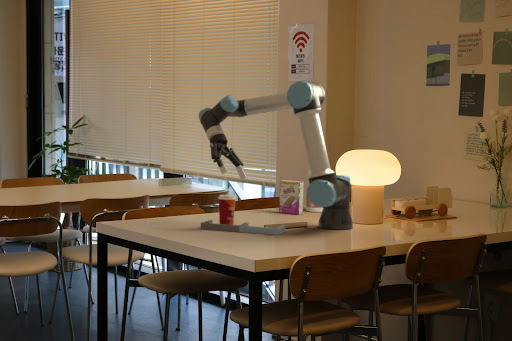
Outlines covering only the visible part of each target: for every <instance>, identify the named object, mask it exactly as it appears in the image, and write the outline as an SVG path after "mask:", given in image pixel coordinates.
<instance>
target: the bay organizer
mask: <svg viewBox="0 0 512 341" xmlns="http://www.w3.org/2000/svg"><path fill="white" fill-rule="evenodd" d="M200 230H212V231H223V232H224V231H225V232H233V233H235V232H237V233H238V232H239V233H249V234H262V235H274V236H279V235H280V234H283V233H285V232H286V225H285V224H283V225H281V226H280V225H279V226H277V227H267V226H265V227H264V226H263V227H262V226H253V225H252V226H250V225H249V222H244V223H241V224H238V225H237V224H233V225H226V224H220V223H213V219H209V220H205V221H203V222H200Z"/></svg>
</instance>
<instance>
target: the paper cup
mask: <svg viewBox="0 0 512 341" xmlns="http://www.w3.org/2000/svg"><path fill="white" fill-rule="evenodd" d="M217 199H218V214H219V224H226V225H234V221H235V208H236V200H237V198H236V195H235V194H219V195H218V198H217Z"/></svg>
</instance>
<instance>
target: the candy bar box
mask: <svg viewBox="0 0 512 341" xmlns="http://www.w3.org/2000/svg"><path fill="white" fill-rule="evenodd" d="M304 183H305V182H304V181H298V180H289V179H282V180H280V181H279V197H278V198H279V199H278V200H279V201H278V202H279V204H278V213H279V214H285V215H286V214H287V215H297V216H300V215H303V212H304V211H303V207H304V206H303V205H304Z"/></svg>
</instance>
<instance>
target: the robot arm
mask: <svg viewBox="0 0 512 341" xmlns="http://www.w3.org/2000/svg"><path fill="white" fill-rule="evenodd" d="M325 100H326V91H325V89H324V87H323V86H322V85H321V84H319V83H318V82H313V81H309V80H308V81H307V80H299V81H295V82H293V83H292V84H291V85H290V86H289V87H288V89H287V92H286V91H285V92H281V93H275V94H269V95H264V96H263V95H262V96H257V97H251V98H246V99H241V100H237V99H236V98H235V97H234V96H232V95H230V94H228V95H227V94H226V96H224V97H222V99H220V100H219V101H218V102H217V103H216V104H215V105H214V106H213V107H206V108H204V109H201V110H199V112H198V119H199V122H200V124H201V126H202V128H203V130H204V132H205V135H206V137H207V140H208V141H209V147H210V154H211V155H210V157H211V160H212V162H213V163H216V164H217V166H218V169H219V171H220V173H221V175H225V174H226V173H227V172H228V169H227V166H226V165H225V163H224V162H225V161H223V159H222V156H224V157H225V158H226V159H228V160H229V161H230V163H232V165H234V166H235V170H236V172H237V173H238V177H239V178H240V180H241V181H244V180H245V179H246V178H247V175H246V173H245V170H244V169H243V166H245V164H244V163H243V161H242V160H241V159H240V158H239V156H238V155H237V154H236V153H235V151H234V148H232V147H230V148H229V147H228V142H229V141H228V139H227V136H226V134H225V132H224V130H223V128H222V126H221V123H222V122H224V121H225V120H226V119H227V118H228V117H229V118H230V117H231V118H245V117H246V116H251V115H258V114H260V115H261V114H266V113H272V112H277V111H283V110H285V111H286V110H290V109H292V110H293V114H294V116H295V117H296V118H297V119H298V121H299V124H300V129H301V134H302V138H303V139H302V140H303V143H304V148H305V153H306V157H307V161H308V162H307V163H308V166H309V170H310V172H311V174H310V176H309V177H308V176H307V179H309V184H310V185H309V187H308V197H309V199H310V201H311V202H312V203H313V204H314V205H316V206H318V207H323V211H322V212H320V213H321V214H320V216H319V219H318V223H317V224H318V228H322V229H327V230H350V229H353V228H354V221H353V218H352V215H351V212H350V202H351V185H352V183H351V178H350V176H348V175H342V174H340V175H339V174H336V171H334V170H332V169H331V168H332V167H331V164H330V160H329V154H328V152H327V150H328V149H327V146H326V143H325V142H326V141H325V137H324V133H323V128H322V123H321V118H320V113H321V111H322V107H321V106H322V105H323V104H324V102H325Z"/></svg>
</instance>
